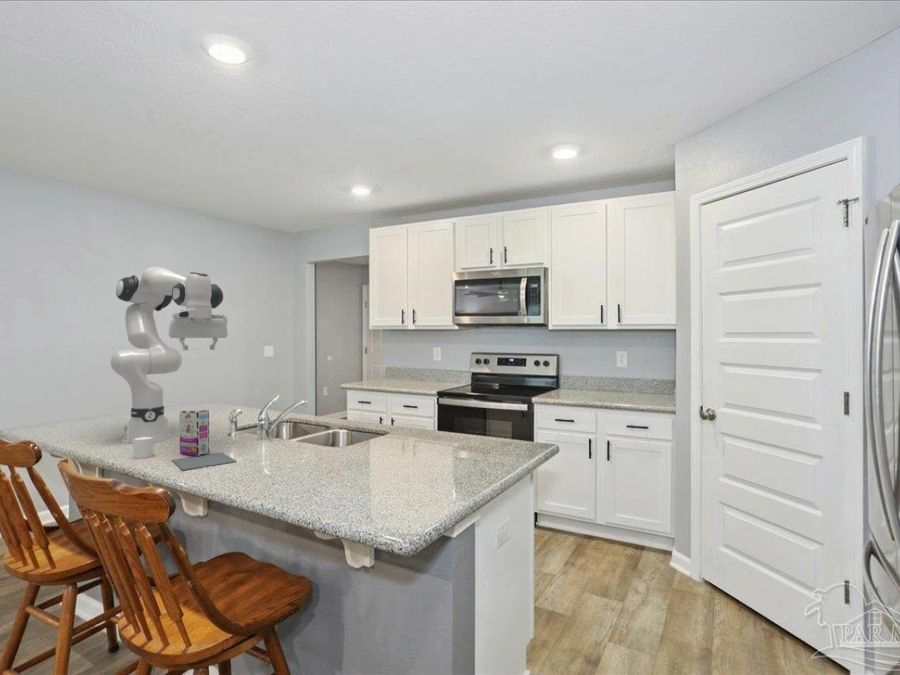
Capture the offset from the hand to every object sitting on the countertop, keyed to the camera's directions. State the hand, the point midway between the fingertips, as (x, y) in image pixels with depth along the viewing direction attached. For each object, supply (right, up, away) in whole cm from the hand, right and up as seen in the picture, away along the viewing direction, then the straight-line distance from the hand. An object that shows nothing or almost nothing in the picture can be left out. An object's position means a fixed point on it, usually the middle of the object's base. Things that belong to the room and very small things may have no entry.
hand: (199, 349), depth 189 cm
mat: (+10, -39, -16) cm, 44 cm away
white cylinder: (-16, -39, -9) cm, 43 cm away
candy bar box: (+2, -39, -6) cm, 40 cm away
